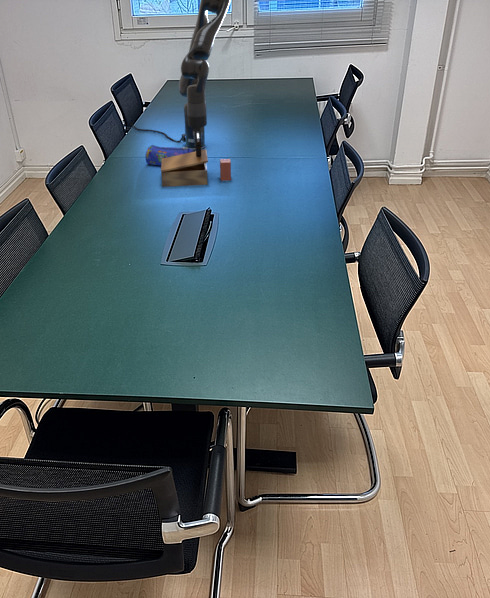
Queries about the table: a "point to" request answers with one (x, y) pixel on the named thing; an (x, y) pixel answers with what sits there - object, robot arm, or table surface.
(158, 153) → the pencil case
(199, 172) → the chest
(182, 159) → the lid
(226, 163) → the block
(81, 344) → the table surface
